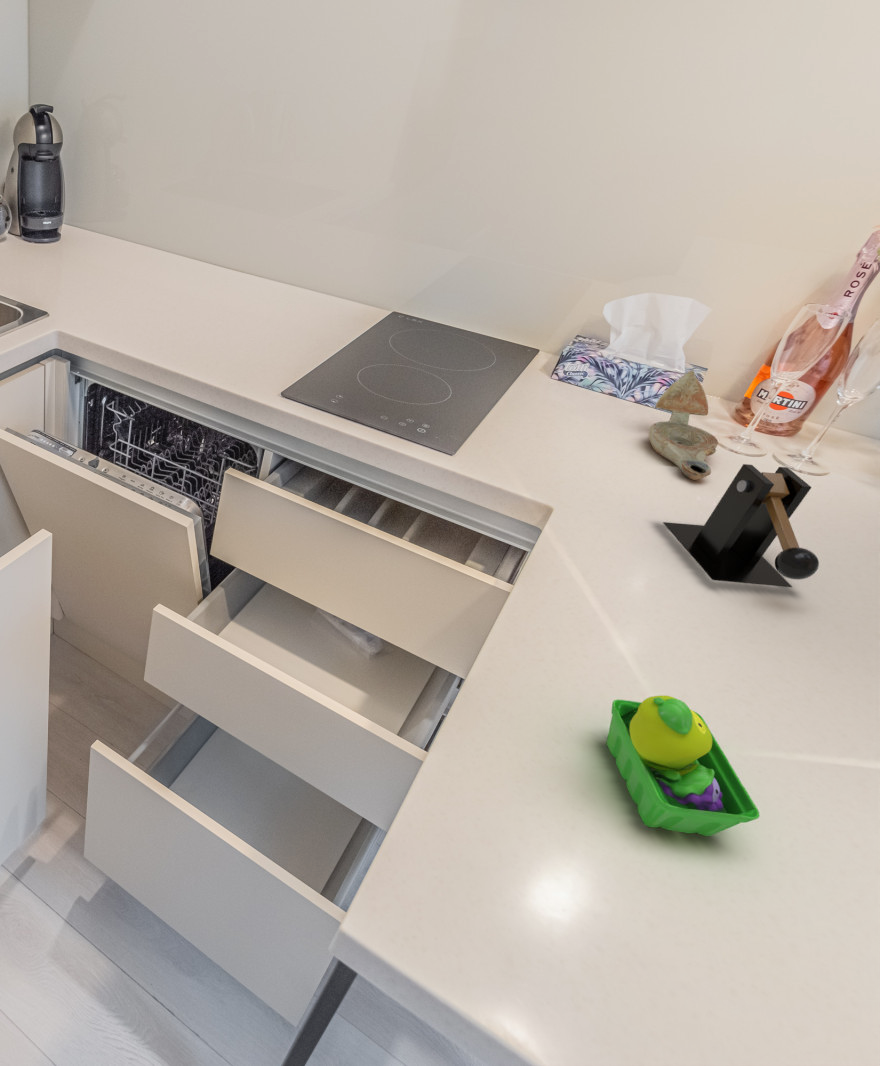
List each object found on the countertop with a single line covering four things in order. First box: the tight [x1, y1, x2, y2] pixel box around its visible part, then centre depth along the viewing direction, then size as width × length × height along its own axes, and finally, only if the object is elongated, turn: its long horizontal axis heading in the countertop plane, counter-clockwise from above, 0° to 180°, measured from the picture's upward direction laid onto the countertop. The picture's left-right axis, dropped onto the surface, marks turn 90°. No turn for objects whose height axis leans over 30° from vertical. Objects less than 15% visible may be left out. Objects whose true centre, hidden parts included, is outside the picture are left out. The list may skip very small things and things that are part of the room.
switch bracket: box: [662, 463, 812, 588], centre depth 92 cm, size 12×9×13 cm
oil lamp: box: [648, 370, 719, 481], centre depth 114 cm, size 9×21×10 cm, turn 157°
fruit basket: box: [606, 694, 760, 837], centre depth 65 cm, size 11×9×11 cm
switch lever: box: [761, 471, 820, 581], centre depth 87 cm, size 13×4×4 cm, turn 174°
